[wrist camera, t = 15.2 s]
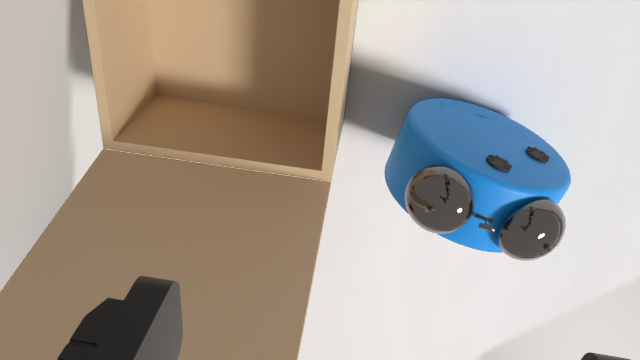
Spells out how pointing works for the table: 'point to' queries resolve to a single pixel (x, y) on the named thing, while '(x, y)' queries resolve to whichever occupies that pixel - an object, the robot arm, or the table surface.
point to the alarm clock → (478, 179)
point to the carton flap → (174, 257)
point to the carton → (224, 80)
